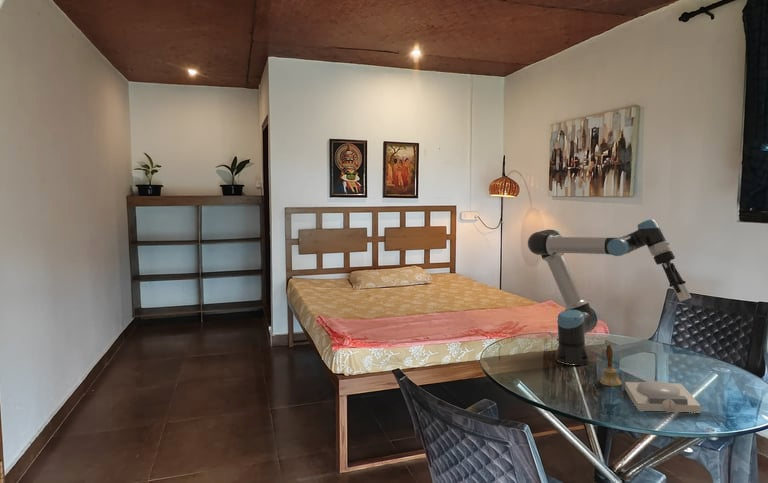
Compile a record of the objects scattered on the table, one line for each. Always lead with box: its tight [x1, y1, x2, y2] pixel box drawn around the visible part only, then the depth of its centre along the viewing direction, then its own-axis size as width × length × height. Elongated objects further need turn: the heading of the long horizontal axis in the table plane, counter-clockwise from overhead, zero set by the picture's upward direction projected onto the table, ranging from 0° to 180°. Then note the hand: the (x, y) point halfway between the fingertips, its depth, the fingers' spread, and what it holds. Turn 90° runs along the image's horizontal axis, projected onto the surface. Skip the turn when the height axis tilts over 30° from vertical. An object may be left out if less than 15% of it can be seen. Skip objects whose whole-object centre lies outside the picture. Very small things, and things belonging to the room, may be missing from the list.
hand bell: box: [599, 344, 623, 387], centre depth 200 cm, size 8×8×16 cm
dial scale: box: [624, 380, 702, 414], centre depth 180 cm, size 20×20×5 cm
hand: (685, 299), depth 201 cm, fingers open, 13 cm apart
